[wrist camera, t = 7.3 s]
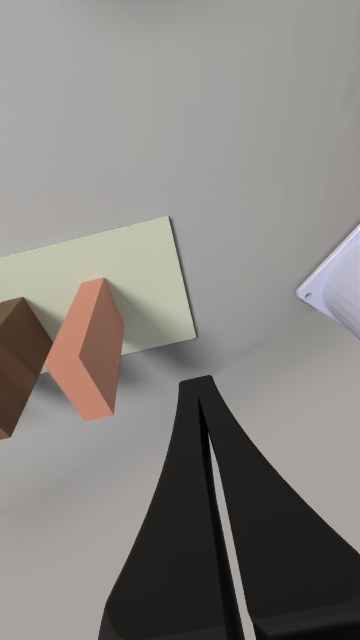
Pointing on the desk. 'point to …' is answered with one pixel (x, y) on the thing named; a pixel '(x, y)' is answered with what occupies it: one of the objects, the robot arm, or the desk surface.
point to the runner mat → (108, 282)
